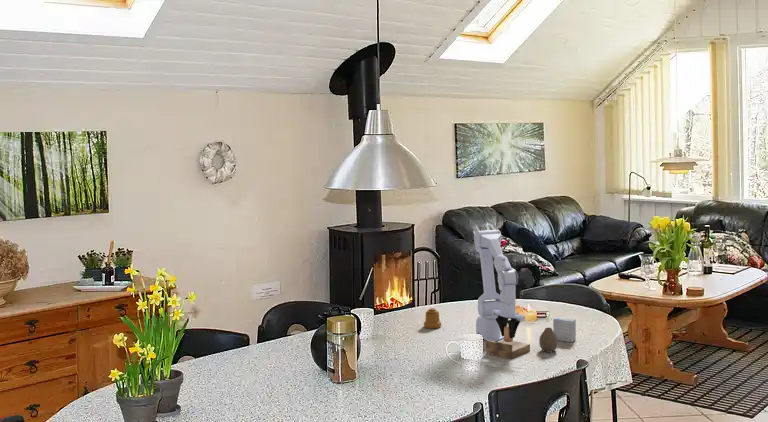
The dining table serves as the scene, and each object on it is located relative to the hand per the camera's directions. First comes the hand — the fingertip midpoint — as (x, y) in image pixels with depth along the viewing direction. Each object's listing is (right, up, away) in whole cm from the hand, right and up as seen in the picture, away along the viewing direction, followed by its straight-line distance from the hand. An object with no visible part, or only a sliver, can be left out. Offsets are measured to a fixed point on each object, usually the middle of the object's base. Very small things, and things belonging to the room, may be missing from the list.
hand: (508, 336), depth 298 cm
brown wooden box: (0, -6, +1) cm, 6 cm away
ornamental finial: (-26, -2, +39) cm, 47 cm away
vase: (+16, -6, +1) cm, 17 cm away
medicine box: (+25, -4, +15) cm, 29 cm away
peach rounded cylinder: (0, -2, 0) cm, 2 cm away
